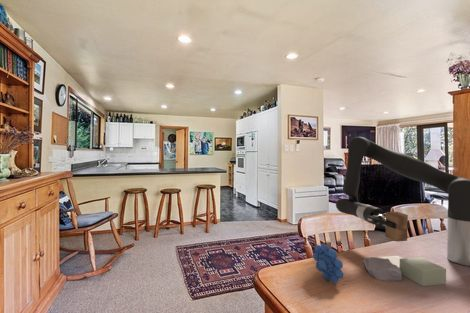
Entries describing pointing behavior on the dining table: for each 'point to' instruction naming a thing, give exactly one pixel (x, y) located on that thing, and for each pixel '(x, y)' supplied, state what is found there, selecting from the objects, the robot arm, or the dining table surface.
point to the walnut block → (401, 229)
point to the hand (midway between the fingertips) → (402, 225)
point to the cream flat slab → (393, 260)
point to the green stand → (423, 271)
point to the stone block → (382, 269)
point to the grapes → (328, 263)
